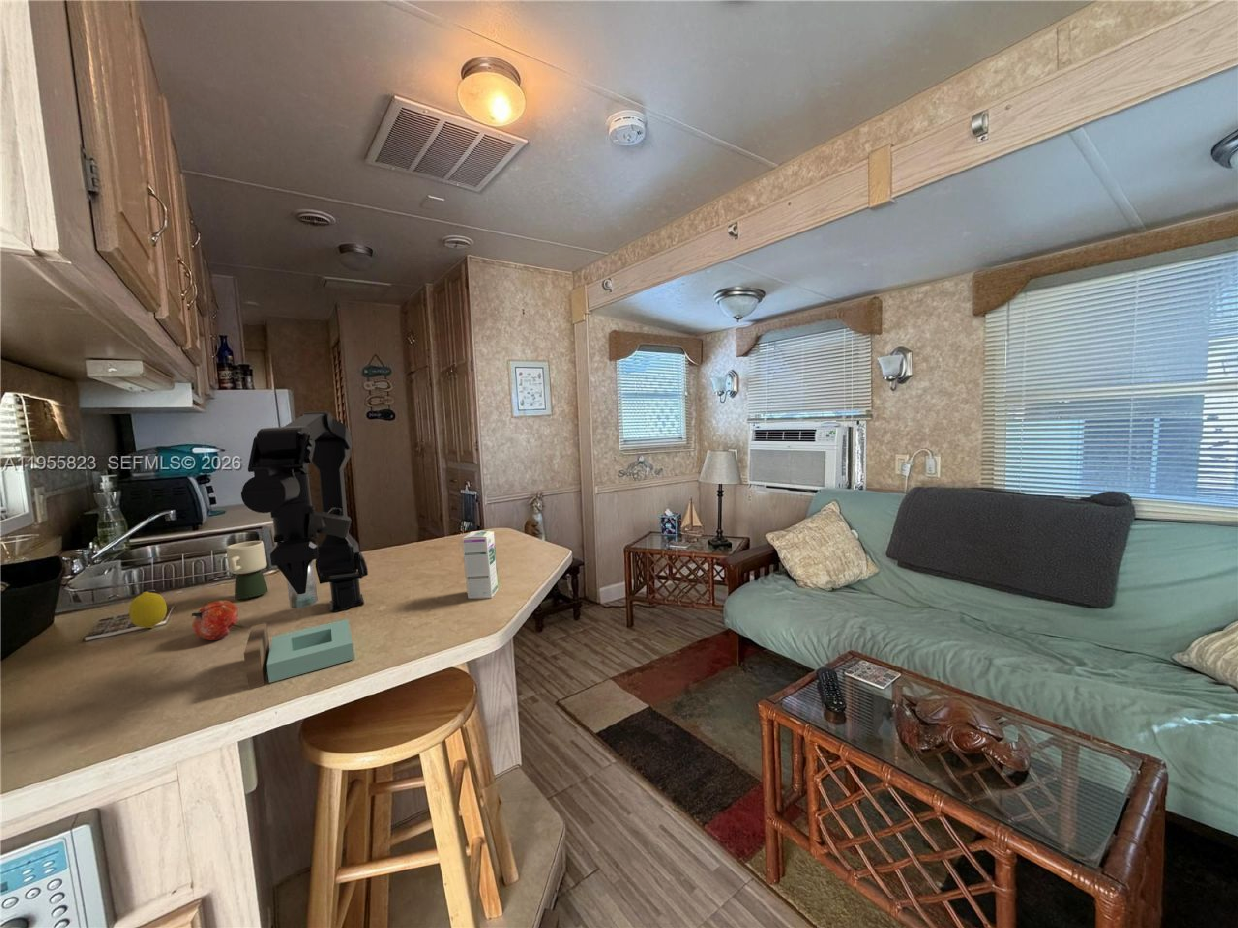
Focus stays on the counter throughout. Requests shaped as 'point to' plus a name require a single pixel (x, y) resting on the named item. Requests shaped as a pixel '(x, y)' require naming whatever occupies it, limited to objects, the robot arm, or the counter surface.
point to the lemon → (147, 610)
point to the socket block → (309, 650)
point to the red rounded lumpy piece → (215, 620)
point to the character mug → (248, 568)
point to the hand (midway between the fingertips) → (302, 589)
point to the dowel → (309, 595)
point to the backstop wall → (257, 656)
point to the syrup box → (480, 564)
